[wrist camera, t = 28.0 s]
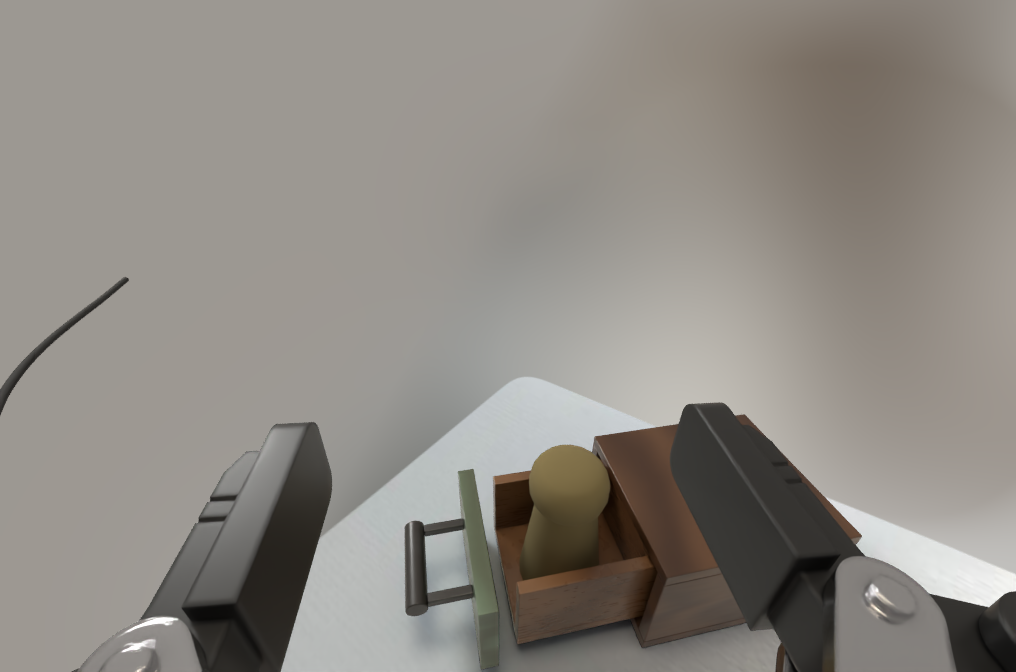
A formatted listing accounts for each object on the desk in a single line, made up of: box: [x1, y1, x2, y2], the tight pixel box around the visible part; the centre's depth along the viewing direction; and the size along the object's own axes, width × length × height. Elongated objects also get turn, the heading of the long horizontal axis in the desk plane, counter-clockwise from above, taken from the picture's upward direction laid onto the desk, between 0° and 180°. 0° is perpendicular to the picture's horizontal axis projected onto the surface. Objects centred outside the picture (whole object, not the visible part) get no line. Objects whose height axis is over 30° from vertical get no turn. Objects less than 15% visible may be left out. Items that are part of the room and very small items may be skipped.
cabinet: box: [592, 415, 862, 648], centre depth 34 cm, size 14×12×9 cm
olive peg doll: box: [519, 445, 610, 581], centre depth 31 cm, size 6×6×11 cm
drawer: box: [405, 460, 658, 669], centre depth 32 cm, size 17×11×7 cm, turn 102°
